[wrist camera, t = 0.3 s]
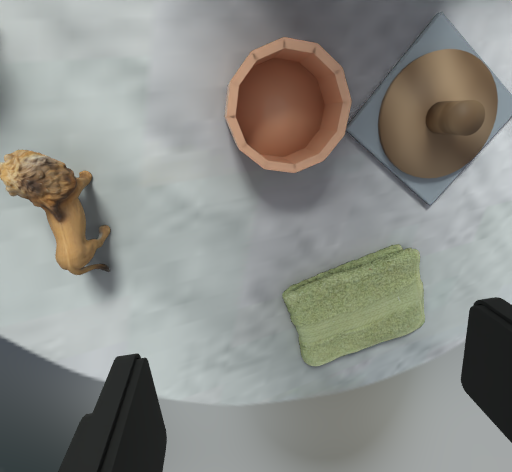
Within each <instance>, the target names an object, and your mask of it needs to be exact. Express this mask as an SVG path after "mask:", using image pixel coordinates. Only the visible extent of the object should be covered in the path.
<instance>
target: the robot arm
mask: <svg viewBox="0 0 512 472" xmlns="http://www.w3.org/2000/svg"><path fill="white" fill-rule="evenodd" d="M461 383H462V386H463V388H464V390H465V392H466V393H467V394H468V395H469V396H470V397H471V398H472V399H473V401H474V402H475V403H476V404H477V405H478V406H479V407H480V408H481V409H482V411H483V412H484V413H485V414H486V415H487V416H488V417H489V418H490V419H491V420H492V422H493V423H494V424H495V425H496V426H497V427H498V428H499V429H500V430H501V431H502V433H503V434H504V435H505V436H506V437H507V438H508V439H509V440H510V441H511V442H512V305H511V304H509V303H508V302H506V301H505V300H503V299H501V298H497V297H495V298H489V299H482V300H478V301H476V302H475V303H474V306H472V307H471V308H470V311H469V319H468V327H467V335H466V343H465V350H464V359H463V366H462V374H461ZM166 440H167V437H166V429H165V425H164V421H163V418H162V414H161V410H160V406H159V402H158V398H157V394H156V390H155V386H154V382H153V378H152V375H151V371H150V367H149V363H148V360H147V358H141V357H140V355H139V354H131V355H124V356H118V357H116V358H115V360H114V362H113V365H112V367H111V370H110V372H109V374H108V377H107V379H106V382H105V384H104V387H103V389H102V392H101V394H100V396H99V399H98V401H97V404H96V406H95V409H94V411H93V413H91V414H86V415H85V416H84V417H83V418H82V420H81V422H80V423H79V425H78V428H77V430H76V432H75V434H74V437H73V439H72V442H71V444H70V446H69V448H68V450H67V453H66V455H65V457H64V459H63V462H62V464H61V466H60V469H59V471H58V472H162V471H163V464H164V457H165V450H166V442H167V441H166Z"/></svg>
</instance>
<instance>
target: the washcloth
mask: <svg viewBox="0 0 512 472" xmlns="http://www.w3.org/2000/svg"><path fill="white" fill-rule="evenodd" d="M419 263H420V253H419V251H418V250H416V249H412V248H407V249H405V250H403V248H402V247H401V246H400V245H399V244H398V245H391V246H389V247H388V248H384V249H382V250H379V251H377V252H376V253H372V254H369V255H366V256H365V257H362V258H360V259H358V260H353V261H351V262H348V263H346V264H343V265H341V266H338V267H337V268H334V269H330V270H329V271H327V272H324V273H323V272H322V273H320V274H317V276H314V277H311V278H310V279H308V280H303V281H301V282H300V283H298V284H294V285H292V286H290V287H289V288H288V289H287V290H285V291H284V292H283V295H282V296H283V299H284V301H285V303H286V306H287V308H288V311H289V313H290V314H291V315H290V317H291V320H292V321H291V322H293V324H294V325H295V326H296V329H297V332H298V334H299V342H300V343H299V345H300V349H301V355H302V358H303V360H304V362H305V363H307V364H308V365H310V366H321V365H323V364H326V363H328V362H331V361H333V360H335V359H336V358H338V357H341V356H345V355H347V354H350V353H354V352H358V351H360V350H362V349H365V348H368V347H370V346H373V345H375V344H378V343H381V342H384V341H388V340H391V339H394V338H398V337H401V336H404V335H407V334H409V333H411V332H413V331H414V330H416V329H418V328H419V327H421V326H422V325H423V323H424V322H425V315H424V301H423V300H424V299H423V296H424V295H423V293H424V290H423V283H422V281H421V279H420V272H419Z"/></svg>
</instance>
